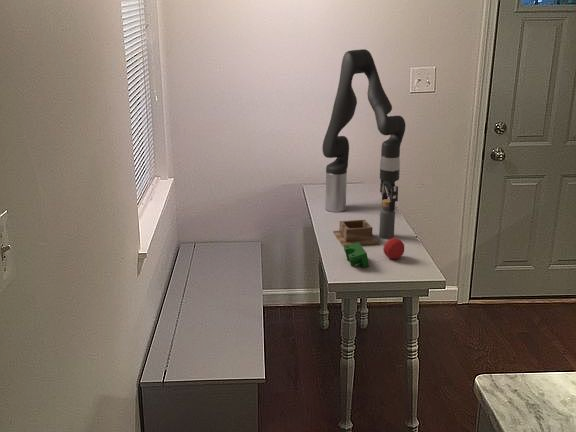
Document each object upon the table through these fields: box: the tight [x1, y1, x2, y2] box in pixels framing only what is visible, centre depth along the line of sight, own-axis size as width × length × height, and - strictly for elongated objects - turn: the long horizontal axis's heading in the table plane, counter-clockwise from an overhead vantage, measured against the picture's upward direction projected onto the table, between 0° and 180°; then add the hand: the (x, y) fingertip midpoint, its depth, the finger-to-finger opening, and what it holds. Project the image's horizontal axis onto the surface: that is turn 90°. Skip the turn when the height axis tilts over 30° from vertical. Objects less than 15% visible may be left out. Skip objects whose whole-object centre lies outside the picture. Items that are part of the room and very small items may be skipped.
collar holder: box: [332, 219, 380, 248], centre depth 264 cm, size 16×14×6 cm
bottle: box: [378, 198, 396, 240], centre depth 265 cm, size 6×6×15 cm
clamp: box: [343, 242, 370, 268], centre depth 240 cm, size 12×6×9 cm, turn 3°
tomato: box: [382, 237, 405, 260], centre depth 244 cm, size 8×8×8 cm
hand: (388, 207), depth 263 cm, fingers open, 8 cm apart
